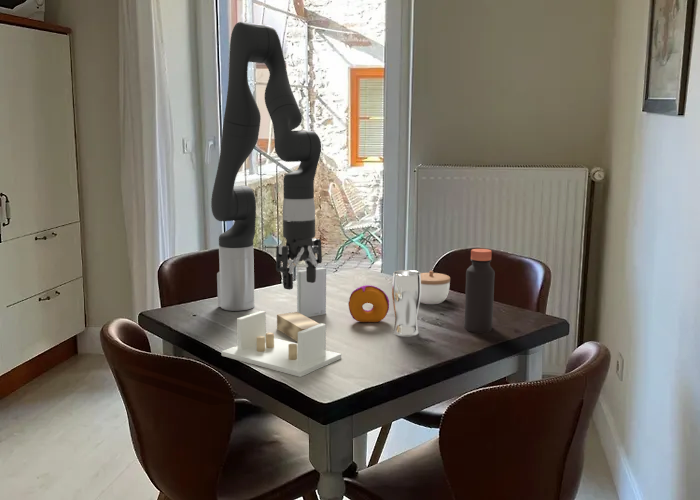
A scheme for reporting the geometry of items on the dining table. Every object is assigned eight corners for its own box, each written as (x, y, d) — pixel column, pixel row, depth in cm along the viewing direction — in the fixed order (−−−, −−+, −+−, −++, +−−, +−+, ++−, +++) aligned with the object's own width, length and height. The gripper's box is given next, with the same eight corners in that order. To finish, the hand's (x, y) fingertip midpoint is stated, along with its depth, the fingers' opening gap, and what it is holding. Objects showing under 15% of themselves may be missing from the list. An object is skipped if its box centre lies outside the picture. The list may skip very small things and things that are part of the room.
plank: (277, 330, 173) (276, 314, 172) (297, 327, 176) (297, 311, 175) (302, 345, 161) (302, 329, 160) (323, 342, 164) (323, 325, 163)
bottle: (474, 324, 178) (478, 246, 174) (497, 330, 173) (501, 250, 170) (458, 329, 173) (461, 250, 170) (481, 335, 169) (485, 254, 165)
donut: (360, 317, 184) (361, 279, 182) (392, 322, 180) (392, 284, 178) (345, 324, 177) (345, 285, 176) (377, 330, 173) (378, 290, 171)
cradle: (221, 355, 153) (220, 320, 151) (264, 339, 164) (264, 306, 163) (300, 376, 141) (300, 338, 139) (341, 358, 152) (341, 322, 150)
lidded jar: (455, 302, 200) (456, 269, 199) (439, 310, 191) (440, 276, 190) (421, 296, 206) (422, 265, 204) (404, 304, 197) (405, 271, 195)
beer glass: (400, 339, 165) (402, 277, 163) (386, 331, 172) (386, 271, 169) (425, 335, 169) (427, 274, 166) (410, 327, 175) (411, 268, 172)
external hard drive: (326, 314, 187) (326, 268, 184) (299, 318, 182) (299, 271, 180) (323, 312, 188) (323, 267, 186) (296, 317, 183) (296, 270, 181)
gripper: (305, 213, 171) (306, 278, 174) (266, 219, 160) (267, 289, 163) (330, 215, 167) (330, 282, 170) (292, 222, 155) (293, 293, 158)
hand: (299, 285), depth 166 cm, fingers open, 8 cm apart
